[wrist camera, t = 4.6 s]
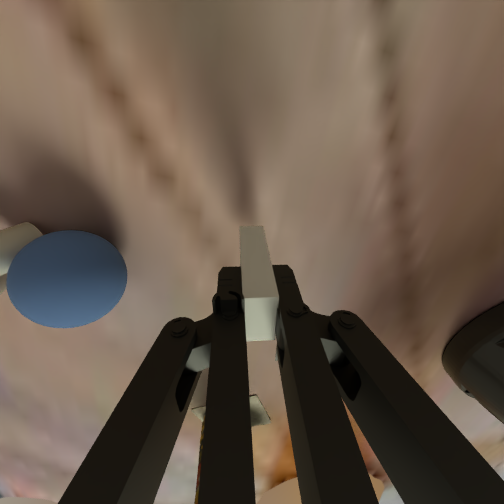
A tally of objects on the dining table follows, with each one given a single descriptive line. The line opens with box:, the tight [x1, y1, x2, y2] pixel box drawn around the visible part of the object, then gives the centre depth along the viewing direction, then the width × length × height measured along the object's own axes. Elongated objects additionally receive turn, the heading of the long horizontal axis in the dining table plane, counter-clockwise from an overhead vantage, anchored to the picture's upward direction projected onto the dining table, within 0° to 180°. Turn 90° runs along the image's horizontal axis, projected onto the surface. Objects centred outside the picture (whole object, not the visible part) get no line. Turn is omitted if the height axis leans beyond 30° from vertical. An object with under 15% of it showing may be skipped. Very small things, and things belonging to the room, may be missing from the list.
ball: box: [6, 230, 127, 328], centre depth 16 cm, size 6×6×6 cm
